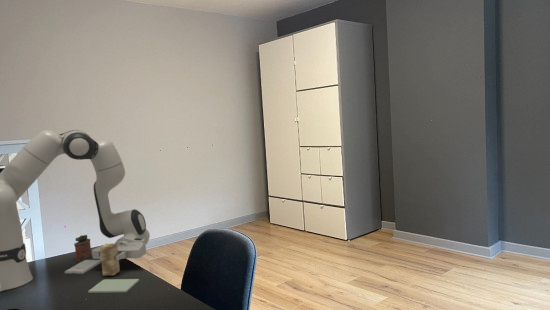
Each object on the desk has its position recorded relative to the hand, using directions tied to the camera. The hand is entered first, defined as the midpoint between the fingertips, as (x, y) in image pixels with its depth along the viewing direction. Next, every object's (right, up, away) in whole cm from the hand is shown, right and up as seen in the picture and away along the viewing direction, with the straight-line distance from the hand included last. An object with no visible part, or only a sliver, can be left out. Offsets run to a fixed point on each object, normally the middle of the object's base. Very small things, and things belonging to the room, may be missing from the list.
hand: (108, 258), depth 159 cm
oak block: (+1, -6, +1) cm, 6 cm away
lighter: (-21, -6, +24) cm, 33 cm away
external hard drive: (-15, -7, +12) cm, 21 cm away
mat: (+6, -7, -10) cm, 14 cm away
